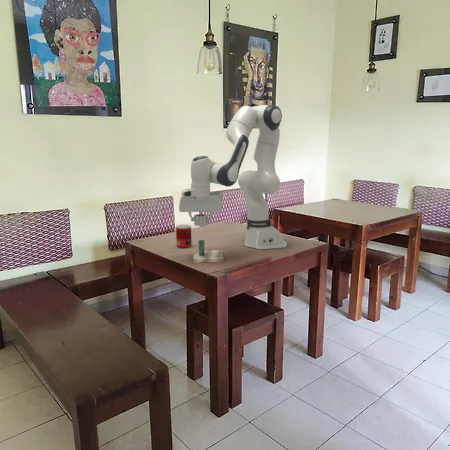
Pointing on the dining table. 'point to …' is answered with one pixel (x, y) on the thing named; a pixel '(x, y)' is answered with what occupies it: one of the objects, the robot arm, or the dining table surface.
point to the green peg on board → (207, 254)
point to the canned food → (183, 236)
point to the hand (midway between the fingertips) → (200, 221)
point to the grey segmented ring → (200, 220)
